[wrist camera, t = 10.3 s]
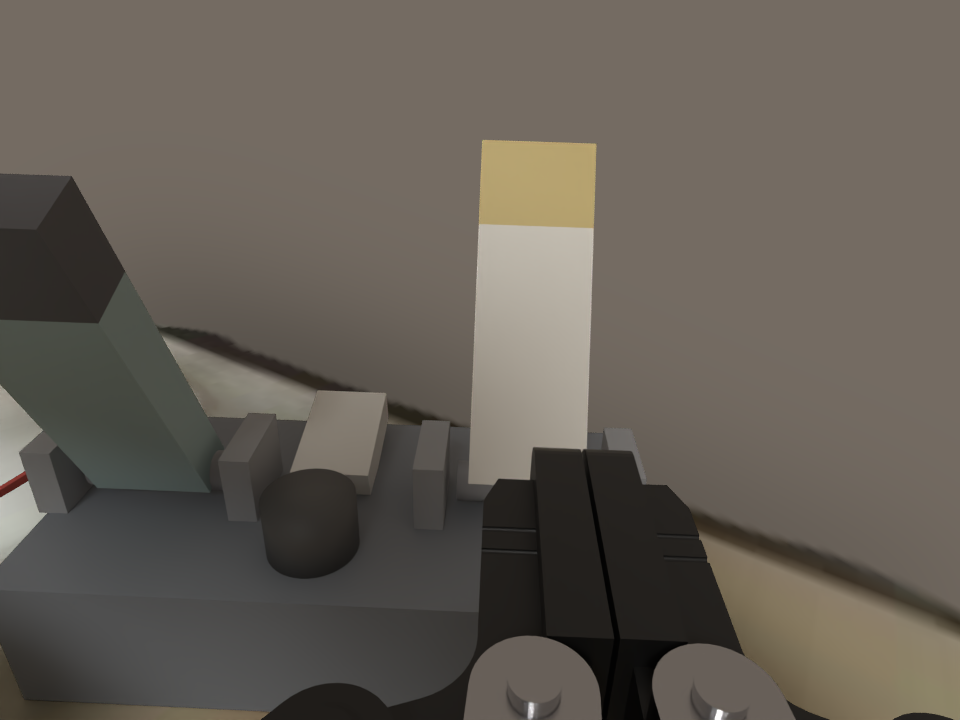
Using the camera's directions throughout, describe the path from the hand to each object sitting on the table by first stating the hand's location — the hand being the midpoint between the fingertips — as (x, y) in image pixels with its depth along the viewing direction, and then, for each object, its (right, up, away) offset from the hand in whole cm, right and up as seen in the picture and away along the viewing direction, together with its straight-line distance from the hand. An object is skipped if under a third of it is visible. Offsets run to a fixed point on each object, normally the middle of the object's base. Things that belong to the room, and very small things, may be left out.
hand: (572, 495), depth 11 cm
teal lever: (-13, -2, +14) cm, 19 cm away
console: (-6, -7, +16) cm, 19 cm away
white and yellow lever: (0, -2, +13) cm, 14 cm away
